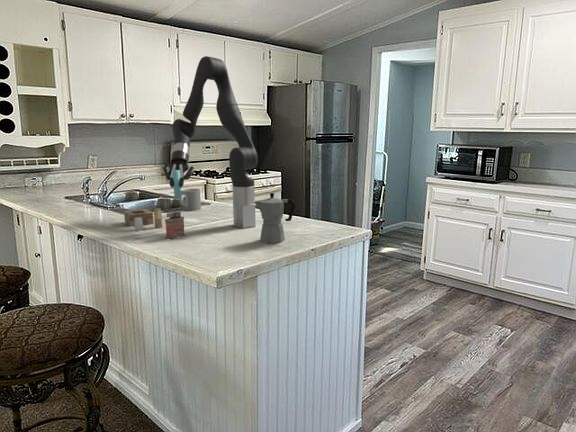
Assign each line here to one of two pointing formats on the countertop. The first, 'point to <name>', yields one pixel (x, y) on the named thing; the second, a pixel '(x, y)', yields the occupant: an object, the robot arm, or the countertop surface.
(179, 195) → the teal pin
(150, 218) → the walnut block
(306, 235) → the countertop surface
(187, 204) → the coffee mug
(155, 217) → the beech pin
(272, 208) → the coffeepot
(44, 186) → the countertop surface
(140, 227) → the grey pin
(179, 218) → the lighter
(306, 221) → the countertop surface
